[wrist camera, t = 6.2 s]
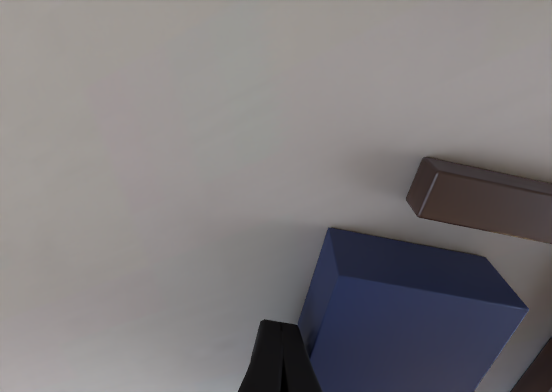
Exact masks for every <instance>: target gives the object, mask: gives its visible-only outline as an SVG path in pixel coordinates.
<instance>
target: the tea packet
mask: <svg viewBox="0 0 552 392" xmlns="http://www.w3.org/2000/svg"><path fill="white" fill-rule="evenodd" d="M528 311H529V308H528V307H527V306H526V305H525V304H524V302H523V301H522V300H521V299H520V298H519V297H518V295H517V294H516V293H515V292H514V291H513V289H512V288H511V287H510V286H509V285H508V283H507V282H506V281H505V280H504V279H503V278H502V276H501V275H500V274H499V273H498V272H497V270H496V269H495V268H494V267H493V266H492V264H491V263H490V262H489V261H488V260H487V259H486V258H485V257H482V256H477V255H472V254H467V253H461V252H456V251H451V250H446V249H440V248H435V247H430V246H424V245H419V244H414V243H409V242H403V241H398V240H393V239H388V238H382V237H377V236H372V235H366V234H361V233H356V232H351V231H345V230H340V229H335V228H328V230H327V233H326V236H325V239H324V243H323V246H322V249H321V252H320V255H319V258H318V261H317V265H316V268H315V271H314V274H313V277H312V280H311V284H310V287H309V290H308V293H307V296H306V299H305V302H304V306H303V309H302V312H301V315H300V318H299V321H298V325H297V326H298V327H299V329H300V333H301V336H302V339H303V342H304V345H305V348H306V351H307V354H308V356H309V359H310V362H311V364H312V367H313V369H314V372H315V374H316V377H317V379H318V381H319V384H320V386H321V388H322V391H323V392H474V390H475V389H476V388H477V386H478V385H479V383H480V382H481V380H482V379H483V377H484V376H485V374H486V373H487V371H488V370H489V368H490V367H491V365H492V364H493V362H494V361H495V360H496V358H497V357H498V355H499V354H500V352H501V351H502V349H503V348H504V346H505V345H506V343H507V342H508V340H509V339H510V337H511V336H512V335H513V333H514V332H515V330H516V329H517V327H518V326H519V324H520V323H521V321H522V320H523V318H524V317H525V315H526V314H527V312H528Z"/></svg>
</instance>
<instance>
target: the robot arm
mask: <svg viewBox="0 0 552 392" xmlns="http://www.w3.org/2000/svg"><path fill="white" fill-rule="evenodd" d="M238 392H323V391H322V388H321V386H320V384H319V381H318V379H317V377H316V374H315V372H314V369H313V367H312V364H311V362H310V359H309V356H308V354H307V351H306V348H305V345H304V342H303V339H302V336H301V333H300V329H299V327H298V326H297V325H295V324H289V323H283V322H277V321H271V320H265V319H264V320H262V321H260V325H259V329H258V333H257V337H256V341H255V345H254V349H253V352H252V356H251V362H250V365H249V367H248V370H247V372H246V375H245V377H244V379H243V381H242V383H241V386H240V388H239V390H238Z"/></svg>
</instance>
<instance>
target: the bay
mask: <svg viewBox="0 0 552 392" xmlns="http://www.w3.org/2000/svg"><path fill="white" fill-rule="evenodd" d="M406 201H407V202H408V204H409V205H410V207H411V208H412V210H413V211H414V212H415V214H416V215H417V216H418V217H419V218H424V219H429V220H434V221H439V222H444V223H449V224H454V225H459V226H464V227H469V228H474V229H479V230H484V231H489V232H494V233H499V234H504V235H509V236H514V237H519V238H524V239H529V240H534V241H539V242H544V243H549V244H552V184H550V183H545V182H541V181H536V180H531V179H527V178H522V177H517V176H513V175H508V174H503V173H499V172H494V171H489V170H485V169H480V168H475V167H471V166H466V165H461V164H457V163H452V162H447V161H443V160H438V159H433V158H429V157H423V159H422V161H421V163H420V166H419V168H418V171H417V173H416V175H415V178H414V180H413V183H412V185H411V188H410V190H409V192H408V195H407V197H406ZM511 392H552V338H551V339H550V340H549V342H548V343H547V344H546V346H545V347H544V348H543V350H542V351H541V352H540V354H539V355H538V356H537V358H536V359H535V360H534V362H533V363H532V364H531V366H530V367H529V368H528V370H527V371H526V372H525V374H524V375H523V376H522V377H521V379H520V380H519V381H518V383H517V384H516V385H515V387H514V388H513V389H512V391H511Z"/></svg>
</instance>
